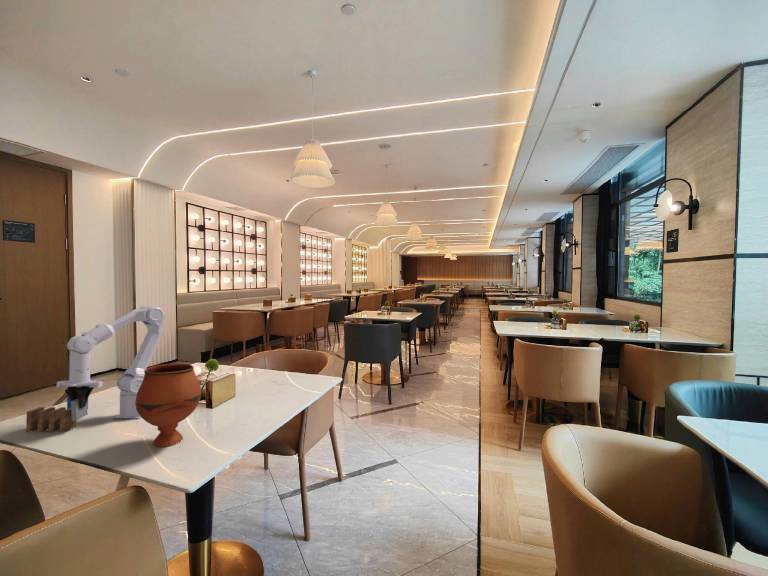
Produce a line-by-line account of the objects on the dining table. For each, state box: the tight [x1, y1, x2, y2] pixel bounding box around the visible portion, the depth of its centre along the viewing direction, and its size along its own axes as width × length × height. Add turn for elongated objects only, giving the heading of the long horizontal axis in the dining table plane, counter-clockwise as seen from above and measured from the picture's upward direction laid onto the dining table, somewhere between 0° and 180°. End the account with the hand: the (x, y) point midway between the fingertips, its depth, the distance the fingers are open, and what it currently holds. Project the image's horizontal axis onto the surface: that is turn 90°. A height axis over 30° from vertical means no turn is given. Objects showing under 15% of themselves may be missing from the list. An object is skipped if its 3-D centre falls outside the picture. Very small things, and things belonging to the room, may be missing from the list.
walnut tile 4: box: [37, 406, 56, 433], centre depth 128 cm, size 2×5×7 cm, turn 2°
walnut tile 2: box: [59, 408, 77, 433], centre depth 128 cm, size 2×5×7 cm, turn 2°
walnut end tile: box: [25, 406, 45, 433], centre depth 128 cm, size 2×5×7 cm, turn 2°
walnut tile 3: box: [48, 406, 67, 433], centre depth 128 cm, size 2×5×7 cm, turn 2°
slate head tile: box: [71, 398, 89, 422], centre depth 129 cm, size 2×5×7 cm, turn 2°
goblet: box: [135, 363, 202, 448], centre depth 120 cm, size 19×19×25 cm
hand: (79, 407), depth 129 cm, fingers closed on slate head tile, 1 cm apart
